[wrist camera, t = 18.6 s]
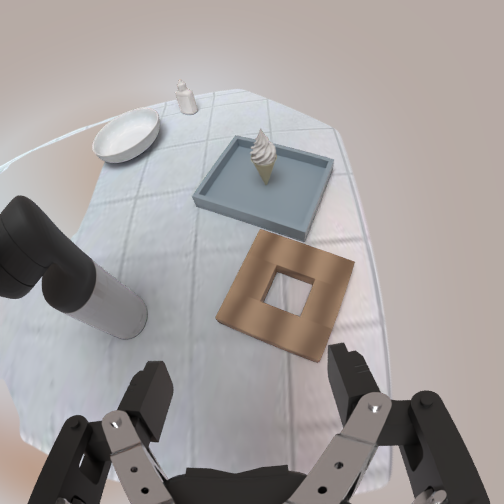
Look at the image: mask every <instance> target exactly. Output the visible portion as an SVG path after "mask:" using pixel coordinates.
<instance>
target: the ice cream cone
mask: <svg viewBox="0 0 504 504" xmlns="http://www.w3.org/2000/svg"><path fill="white" fill-rule="evenodd" d="M255 140H256V142H255V143H253V144H254V146H252V147H251V149H253V151H251V152H250V154H252V155H251V161H252V162H253V163H254V165H255V167H256V169H257V171H258V172H259V174H260V176H261V178H262V180H263V181H264V183H265V185H267V184H268V181H269V178H270V175H271V172H272V169H273V167H274V163H275V161H276V159H277V155H276V149H275V146H274V145H273V144H272V143H271V142H270V141H269V138H268V137H266V136H265V134H264V133H263V131H262V130H261V129H260V132H259V134H258V136H257V138H256V139H255Z"/></svg>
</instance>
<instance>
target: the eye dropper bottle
mask: <svg viewBox="0 0 504 504" xmlns="http://www.w3.org/2000/svg"><path fill="white" fill-rule="evenodd" d="M177 87H178V91H176V98H177V101H178V104H179V107H180V110H181V112H182V113H183V114H187V115H193V114H195V113H196V112H197V111H198V109H197V106H196V102H195V99H194V95H193V92H192V91H191V90H190V89H187V87H186V84H185V82H182V80H181V79H180V80H179V83H178V84H177Z"/></svg>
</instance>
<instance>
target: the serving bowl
mask: <svg viewBox="0 0 504 504" xmlns="http://www.w3.org/2000/svg"><path fill="white" fill-rule="evenodd" d="M159 128H160V119H159V115H158V113H157V111H155V110H154V109H151V108H138V109H134V110H130V111H128V112H125V113H123V114H121V115H119V116H118V117H116V118H114V119H113V120H111V121H110V122H109V123H108V124H106V125H105V126H104V127H103V128H102V129H101V130H100V131H99V133H98V134H97V136H96V137H95V139H94V141H93V146H92V148H93V151H94V153H95V154H96V155H97V156H98V157H99V158H100V159H102V160H104V161H106V162H109V163H120V162H124V161H128V160H130V159H132V158H134V157H136V156H138V155H140V154H141V153H143V152H144V151H145V150H146V149H147V148H148V147H149V146H150V145H151V144H152V143H153V142H154V140H155V139H156V137H157V135H158V132H159Z"/></svg>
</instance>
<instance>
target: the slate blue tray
mask: <svg viewBox="0 0 504 504" xmlns="http://www.w3.org/2000/svg"><path fill="white" fill-rule="evenodd" d="M255 142H256V140H255V139H251V138H246V137H241V136H235V137H234V138H233V140H232V141H231V142H230V144H229V145H228V146H227V148H226V149H225V150H224V152H223V153H222V154H221V156H220V157H219V159H218V160H217V161H216V163H215V164H214V166H213V167H212V168H211V170H210V171H209V173H208V174H207V175H206V177H205V178H204V180H203V181H202V183H201V184H200V186H199V187H198V188H197V190H196V191H195V193H194V194H193V196H192V197H193V200H194V202H195V204H196V206H197V207H200V208H203V209H206V210H209V211H212V212H215V213H218V214H222V215H225V216H228V217H231V218H234V219H237V220H240V221H243V222H246V223H249V224H252V225H255V226H258V227H261V228H264V229H267V230H270V231H273V232H276V233H279V234H282V235H285V236H288V237H291V238H294V239H297V240H300V241H303V242H305V239H306V237H307V234H308V232H309V230H310V227H311V225H312V222H313V220H314V217H315V214H316V212H317V209H318V207H319V204H320V202H321V199H322V196H323V194H324V191H325V189H326V186H327V183H328V181H329V178H330V175H331V173H332V170H333V163H334V159H330V158H327V157H323V156H320V155H316V154H313V153H309V152H305V151H302V150H298V149H294V148H290V147H286V146H282V145H277V144H273V143H272V144H273V145H274V146H275V149H276V155H277V159H276V161H275V163H274V167H273V169H272V172H271V175H270V178H269V181H268V184H267V185H265V183H264V181H263V180H262V178H261V176H260V174H259V172H258V171H257V169H256V167H255V165H254V163H253V162H252V161H251V155H252V154H250V152H251V151H253V149H251V147H252V146H254V144H253V143H255Z"/></svg>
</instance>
